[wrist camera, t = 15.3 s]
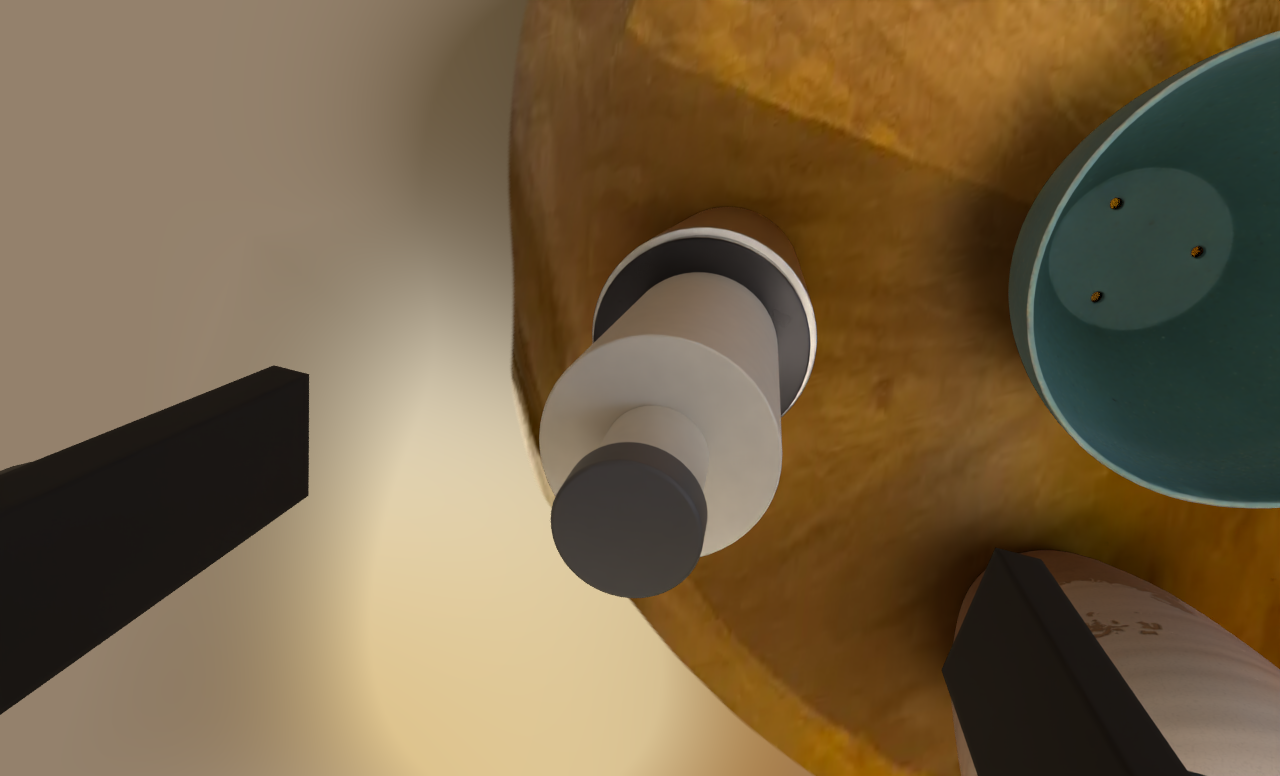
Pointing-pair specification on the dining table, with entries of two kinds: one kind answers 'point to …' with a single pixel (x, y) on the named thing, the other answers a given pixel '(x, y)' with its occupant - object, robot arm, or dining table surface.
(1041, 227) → the plant pot
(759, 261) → the metal canister
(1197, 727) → the vase
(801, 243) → the dining table surface
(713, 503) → the bottle
